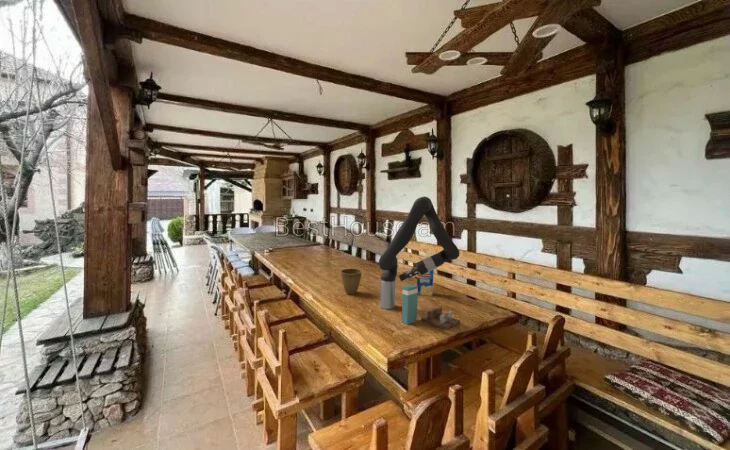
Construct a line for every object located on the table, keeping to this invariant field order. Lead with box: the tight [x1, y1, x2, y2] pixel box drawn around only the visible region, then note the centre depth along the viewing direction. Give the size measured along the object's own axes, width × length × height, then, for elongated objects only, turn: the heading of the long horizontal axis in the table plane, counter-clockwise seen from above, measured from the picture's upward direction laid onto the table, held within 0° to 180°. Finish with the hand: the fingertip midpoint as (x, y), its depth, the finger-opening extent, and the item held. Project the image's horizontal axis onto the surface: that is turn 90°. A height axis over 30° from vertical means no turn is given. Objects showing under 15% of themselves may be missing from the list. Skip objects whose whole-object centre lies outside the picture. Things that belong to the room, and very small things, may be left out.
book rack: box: [420, 306, 461, 331], centre depth 175 cm, size 14×16×6 cm
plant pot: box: [340, 268, 363, 295], centre depth 223 cm, size 15×15×16 cm
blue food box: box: [416, 269, 435, 297], centre depth 223 cm, size 7×11×22 cm, turn 74°
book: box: [401, 284, 419, 326], centre depth 174 cm, size 8×4×20 cm, turn 131°
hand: (399, 278), depth 178 cm, fingers open, 8 cm apart
